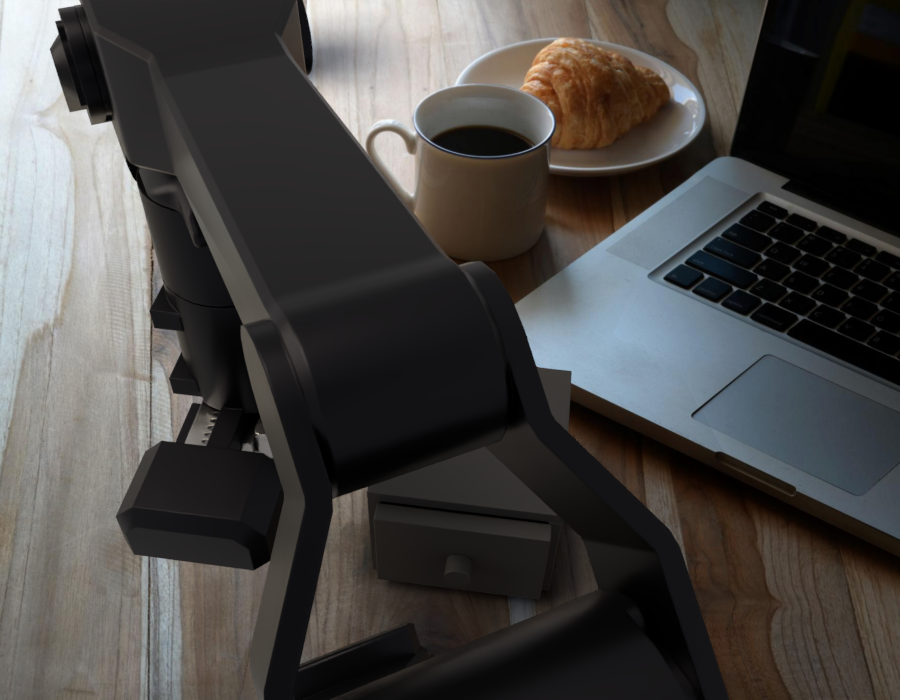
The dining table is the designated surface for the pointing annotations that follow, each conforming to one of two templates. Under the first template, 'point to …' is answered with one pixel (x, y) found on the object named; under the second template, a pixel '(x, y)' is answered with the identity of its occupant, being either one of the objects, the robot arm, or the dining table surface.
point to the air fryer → (480, 481)
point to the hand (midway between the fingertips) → (274, 483)
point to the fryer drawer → (461, 550)
